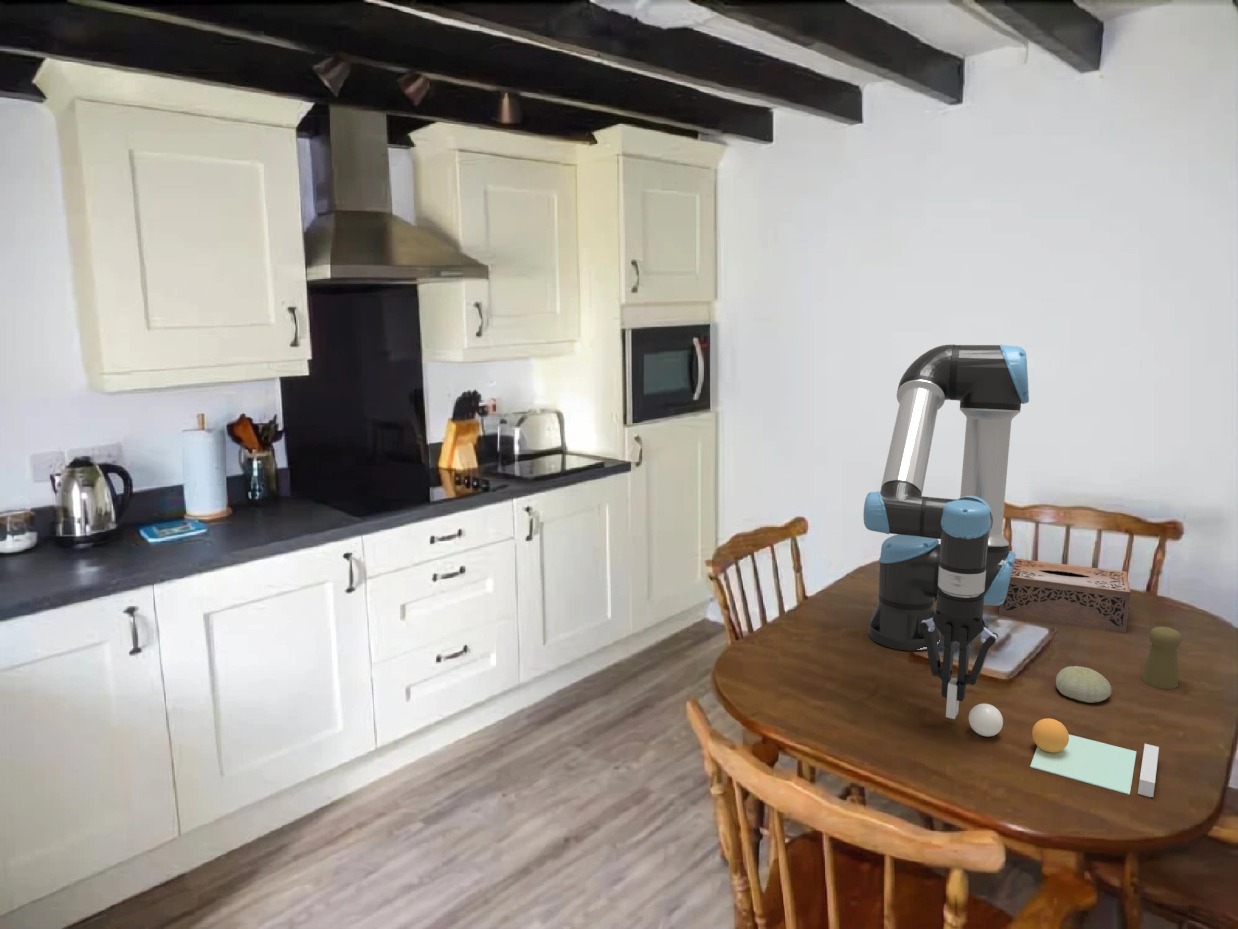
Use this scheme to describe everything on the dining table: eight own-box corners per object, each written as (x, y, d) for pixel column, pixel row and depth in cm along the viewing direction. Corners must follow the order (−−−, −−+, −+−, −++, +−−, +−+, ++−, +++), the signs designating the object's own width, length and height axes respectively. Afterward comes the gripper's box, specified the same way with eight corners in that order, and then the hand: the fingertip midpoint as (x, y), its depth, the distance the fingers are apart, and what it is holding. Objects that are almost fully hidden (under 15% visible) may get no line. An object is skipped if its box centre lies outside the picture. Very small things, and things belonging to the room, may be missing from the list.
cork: (1178, 692, 160) (1185, 638, 158) (1141, 684, 163) (1148, 631, 161) (1177, 679, 165) (1184, 626, 163) (1141, 672, 168) (1148, 620, 166)
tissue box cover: (998, 615, 198) (1001, 575, 196) (1003, 595, 210) (1006, 557, 208) (1125, 634, 186) (1130, 592, 184) (1122, 611, 199) (1126, 571, 197)
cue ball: (993, 710, 143) (1002, 741, 143) (1001, 698, 147) (1010, 728, 147) (961, 711, 146) (969, 741, 146) (970, 699, 150) (978, 729, 150)
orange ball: (1034, 721, 139) (1070, 735, 137) (1039, 708, 144) (1074, 721, 141) (1026, 750, 141) (1062, 764, 138) (1031, 735, 146) (1065, 749, 143)
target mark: (1030, 767, 137) (1030, 766, 137) (1043, 729, 148) (1044, 728, 148) (1129, 795, 129) (1129, 793, 129) (1136, 752, 140) (1136, 751, 140)
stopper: (1137, 793, 129) (1139, 779, 129) (1143, 757, 139) (1144, 743, 139) (1153, 798, 128) (1154, 783, 128) (1157, 760, 138) (1159, 747, 137)
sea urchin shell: (1095, 703, 153) (1069, 662, 157) (1064, 717, 159) (1040, 678, 163) (1126, 691, 157) (1100, 651, 161) (1094, 705, 163) (1070, 667, 167)
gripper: (916, 590, 146) (908, 714, 151) (996, 605, 138) (986, 734, 143) (927, 577, 152) (920, 696, 157) (1005, 590, 144) (995, 715, 149)
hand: (952, 714), depth 150 cm, fingers closed
